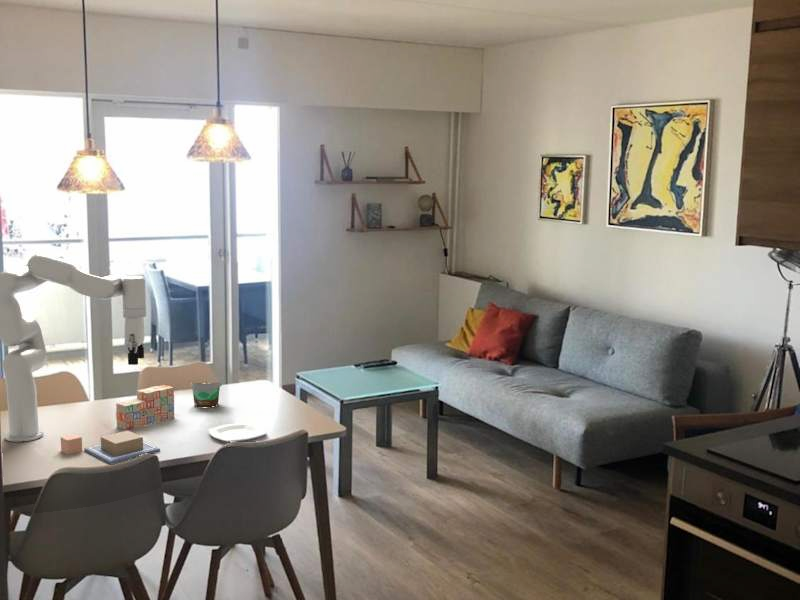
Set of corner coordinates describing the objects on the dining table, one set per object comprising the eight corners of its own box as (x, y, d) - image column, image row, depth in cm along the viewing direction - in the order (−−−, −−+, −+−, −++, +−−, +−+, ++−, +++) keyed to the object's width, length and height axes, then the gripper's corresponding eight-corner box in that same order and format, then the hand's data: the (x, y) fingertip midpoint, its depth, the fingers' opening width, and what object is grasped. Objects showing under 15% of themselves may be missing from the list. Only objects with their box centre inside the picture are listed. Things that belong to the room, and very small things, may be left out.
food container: (190, 409, 336) (190, 385, 335) (190, 405, 342) (190, 381, 341) (222, 408, 339) (221, 383, 338) (221, 403, 345) (221, 380, 344)
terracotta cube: (61, 451, 286) (60, 437, 285) (75, 447, 290) (74, 433, 289) (68, 454, 283) (67, 440, 282) (82, 451, 286) (81, 437, 285)
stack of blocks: (126, 430, 309) (124, 398, 307) (116, 427, 313) (115, 395, 311) (174, 417, 326) (174, 386, 324) (165, 414, 330) (164, 384, 328)
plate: (201, 434, 307) (201, 428, 307) (250, 425, 318) (250, 420, 318) (223, 448, 292) (223, 442, 292) (273, 438, 303) (273, 433, 303)
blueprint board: (84, 450, 286) (83, 436, 285) (132, 439, 299) (132, 425, 298) (110, 464, 274) (110, 449, 273) (160, 451, 287) (159, 437, 286)
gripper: (129, 308, 297) (130, 355, 300) (117, 316, 280) (119, 367, 283) (150, 308, 298) (152, 355, 300) (140, 316, 281) (142, 367, 283)
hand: (136, 361), depth 292 cm, fingers open, 9 cm apart
